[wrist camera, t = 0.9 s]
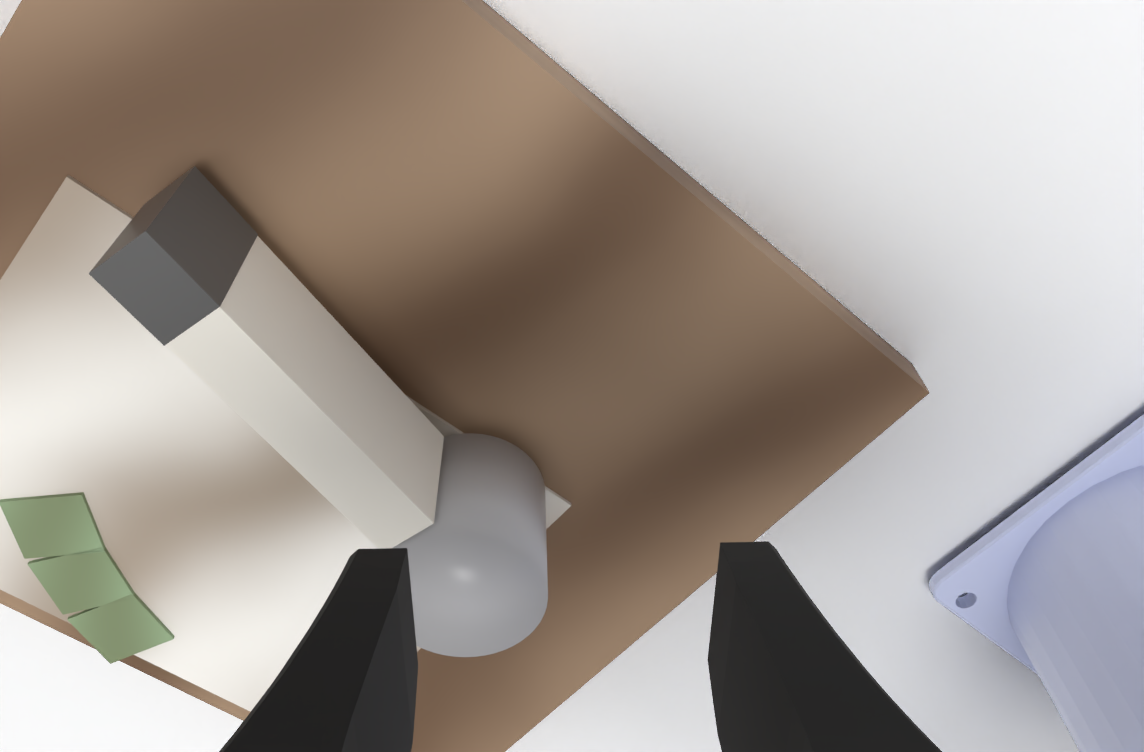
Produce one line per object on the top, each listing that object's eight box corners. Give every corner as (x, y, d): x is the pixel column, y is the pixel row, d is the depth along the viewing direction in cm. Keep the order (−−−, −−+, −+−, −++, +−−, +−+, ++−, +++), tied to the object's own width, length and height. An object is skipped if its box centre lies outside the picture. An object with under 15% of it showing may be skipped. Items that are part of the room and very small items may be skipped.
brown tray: (911, 363, 23) (932, 397, 22) (436, 775, 30) (432, 818, 29) (186, -251, 17) (160, -250, 16) (-220, 447, 23) (-259, 486, 22)
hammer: (574, 506, 23) (580, 610, 21) (458, 572, 24) (449, 680, 21) (239, 129, 19) (190, 197, 16) (110, 226, 19) (43, 308, 17)
